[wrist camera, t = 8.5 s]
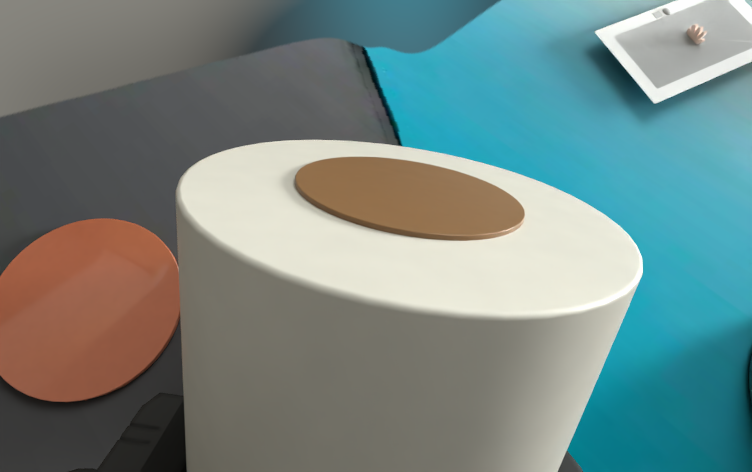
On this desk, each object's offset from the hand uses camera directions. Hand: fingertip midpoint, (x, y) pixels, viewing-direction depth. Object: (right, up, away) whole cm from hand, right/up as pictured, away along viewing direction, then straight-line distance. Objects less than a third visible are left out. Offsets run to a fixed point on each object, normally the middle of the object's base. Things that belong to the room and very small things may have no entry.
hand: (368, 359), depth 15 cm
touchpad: (+26, +20, +24) cm, 41 cm away
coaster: (-17, 0, +12) cm, 21 cm away
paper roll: (-1, -5, +3) cm, 6 cm away
